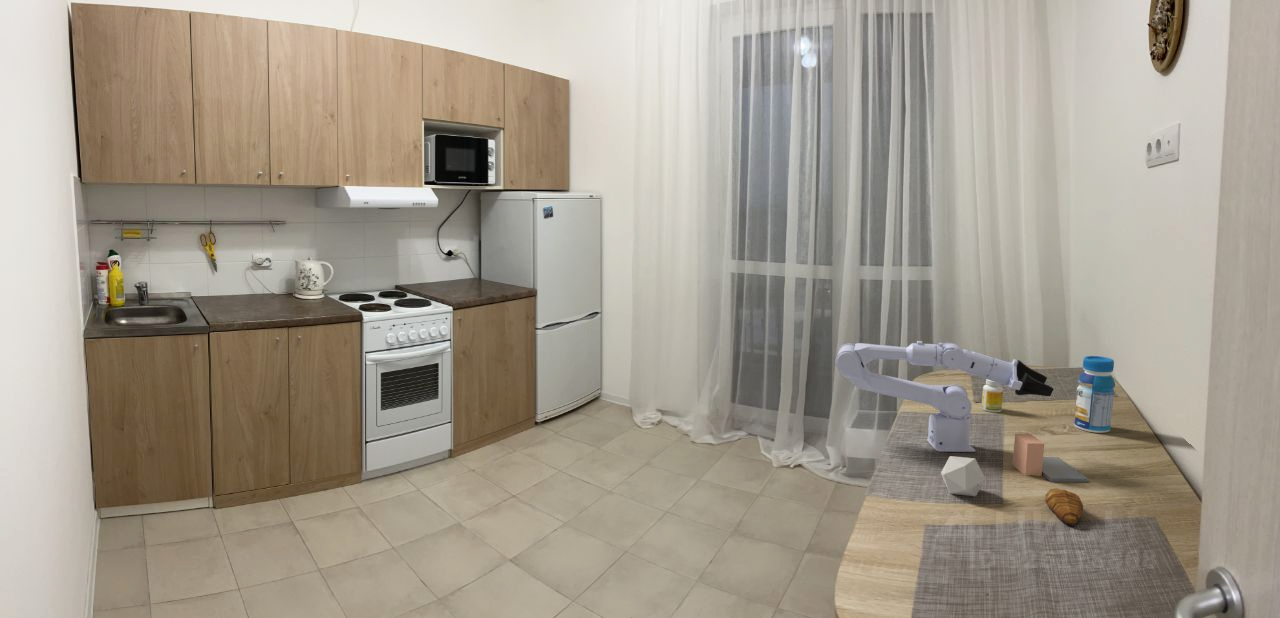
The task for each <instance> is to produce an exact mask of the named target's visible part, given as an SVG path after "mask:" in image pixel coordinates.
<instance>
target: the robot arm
mask: <svg viewBox="0 0 1280 618" xmlns="http://www.w3.org/2000/svg"><path fill="white" fill-rule="evenodd" d="M873 360H900V361H901V360H904V361H907V362H908V363H909V364H910V365H912V366H924V367H925V366H928V367H940V366H943V367H944V368H946V369H947V370H948V371H958V370H959V371H962V372H965V373H966V374H969V375H972V376H973V375H974V376H976V377H979V378H983V379H985V380H986V379H988V380H991V381H994V382H998V383H1001V385H1003V386H1005V387H1009V388H1011V389H1013V390H1015V391H1014V394H1015V395H1017V396H1025V395H1026V396H1027V395H1028V396H1029V395H1031V396H1032V395H1035V396H1043V397H1052V396H1051V395H1052V394H1053V392H1054V387H1053V386H1050V385H1048V384H1046V381H1047V379H1048V378H1047V376H1045V375H1044V374H1042V373H1040V372H1038V371H1036V370H1034V369H1032V368H1031V367H1029V366H1028V365H1026V364H1025V363H1023V362H1022V361H1021V360H1019V359H1015V358H1013V360H1012V362H1009V361H1005V360H1002V359H999V358H996V357H993V356H989V355H986V354H983V353H980V352H977V351H971V350H970V349H969V350H968V349H965V348H961V347H960V346H959V345H958V344H956V343H953V342H950V341H949V342H948V341H946V342H945V343H944V342H938V344H936V343H935V344H933V343H923V340H917V341H916V342H912V343H910V344H909V345H908V346H906V347H905V346H895V345H886V344H885V345H884V344H883V345H882V344H872V343H862V342H859V343H855V344H854V343H852V342H851V343H845V344H844V343H843V344H841V345H840V346H839V348H838V350H837V355H836V357H835V360H834V361H835V362H834V363H835V366H836V368H837V371H838V372H839V373H840V375H841V376H843V377H845V378H846V379H847V380H849V381H850V383H852V384H853V385H854V386H855V387H856V388H857V389H859V390H863V391H866V392H867V391H868V392H871V393H876V394H880V395H884V396H889V397H894V398H898V399H903V400H906V401H911V402H916V403H920V404H923V405H924V404H925V405H929V406H930V407H932V408H934V409H936V410H937V411H939V412H937V413H931V414H930V415H929V417H928V430H927V438H926V441H927V442H928V443H929V445H931V446H932V447H933V449H934V450H935V451H936V452H941V453H942V452H944V453H945V452H946V453H947V452H948V453H949V452H952V453H953V452H954V453H955V452H957V453H960V452H961V453H976V449H975V448H974V447H973V446H971V444H970V437H971V436H970V434H971V433H970V432H971V423H972V422H971V419H972V414H971V411H972V409H973V407H972V401H971V400H970V399H969V395H968V392H967V390H966V388H964V387H962V386H961V385H959V384H949V385H942V384H934V385H931V384H925V383H923V382H917V381H912V380H907V379H903V378H899V377H894V376H889V375H886V374H885V375H884V374H880V373H875V372H872V371H870V370H869V368H868V366H867V364H868V363H870V362H872V361H873Z"/></svg>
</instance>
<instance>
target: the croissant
mask: <svg viewBox="0 0 1280 618" xmlns="http://www.w3.org/2000/svg"><path fill="white" fill-rule="evenodd" d="M1044 501H1045V504H1046V505H1047V507H1048V508H1049V510H1050V511H1051V512H1052V513H1053V514H1054V515H1055V516H1056V518H1058V520H1060V521H1061V522H1063V523H1064V524H1065V525H1068V526H1070V527H1072V526H1073V527H1074V526H1076V524H1077V522H1078V521H1079V519H1080V518H1081V517H1082V515H1083V513H1082V512H1083V511H1084V503H1083V502H1082V500H1081V498H1080V496H1079V495H1077V494H1076V493H1074V492H1071V491H1068V490H1066V489H1060V488H1050V489H1049V490H1048V492H1047V493H1046V494H1045V497H1044Z"/></svg>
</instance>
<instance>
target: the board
mask: <svg viewBox="0 0 1280 618" xmlns="http://www.w3.org/2000/svg"><path fill="white" fill-rule="evenodd" d="M1042 476H1043V477H1044V478H1046V480H1048V481H1049V482H1053V483H1054V482H1055V483H1062V482H1063V483H1067V482H1068V483H1088V481H1089V478H1087V476H1085V475H1084V474H1082V473H1081V472H1080V471H1078V470H1077V469H1076V468H1074V467H1073V466H1072V465H1070V464H1069V463H1067V462H1066V461H1064V460H1063V459H1062V458H1061V457H1058V456H1043V464H1042Z"/></svg>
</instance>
